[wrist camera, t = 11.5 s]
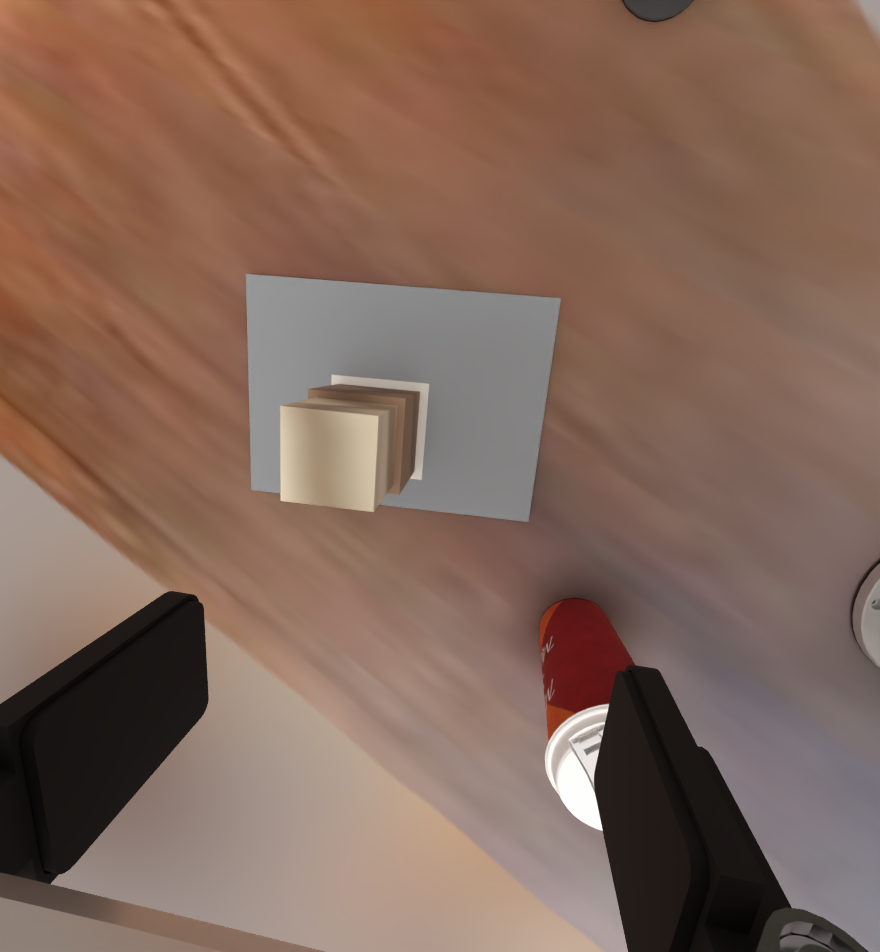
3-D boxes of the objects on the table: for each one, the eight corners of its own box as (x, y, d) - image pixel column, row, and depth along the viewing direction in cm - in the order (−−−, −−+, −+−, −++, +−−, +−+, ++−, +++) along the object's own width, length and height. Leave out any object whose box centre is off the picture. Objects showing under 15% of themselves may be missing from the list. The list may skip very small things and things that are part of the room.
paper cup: (507, 616, 37) (519, 763, 24) (588, 568, 35) (651, 698, 22) (560, 684, 38) (600, 862, 25) (641, 642, 36) (732, 808, 23)
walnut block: (420, 391, 32) (405, 398, 27) (414, 471, 34) (399, 494, 28) (339, 383, 33) (307, 389, 27) (337, 463, 34) (306, 484, 29)
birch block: (398, 405, 27) (378, 416, 22) (392, 485, 28) (373, 512, 23) (317, 397, 27) (280, 405, 22) (315, 476, 28) (280, 500, 24)
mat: (559, 299, 31) (561, 298, 30) (527, 519, 35) (528, 522, 34) (250, 275, 32) (245, 273, 32) (255, 487, 36) (250, 490, 36)
